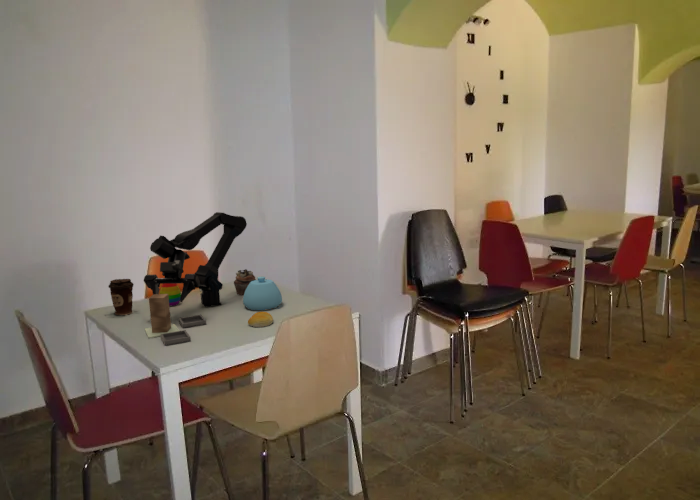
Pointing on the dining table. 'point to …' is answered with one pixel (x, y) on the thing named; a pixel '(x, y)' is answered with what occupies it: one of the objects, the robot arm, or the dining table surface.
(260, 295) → the sugar bowl
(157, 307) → the walnut block
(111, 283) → the coffee cup
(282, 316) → the dining table surface
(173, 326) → the pad
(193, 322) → the tray
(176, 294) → the decorative egg
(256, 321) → the bread roll
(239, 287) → the cupcake
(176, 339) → the tray
